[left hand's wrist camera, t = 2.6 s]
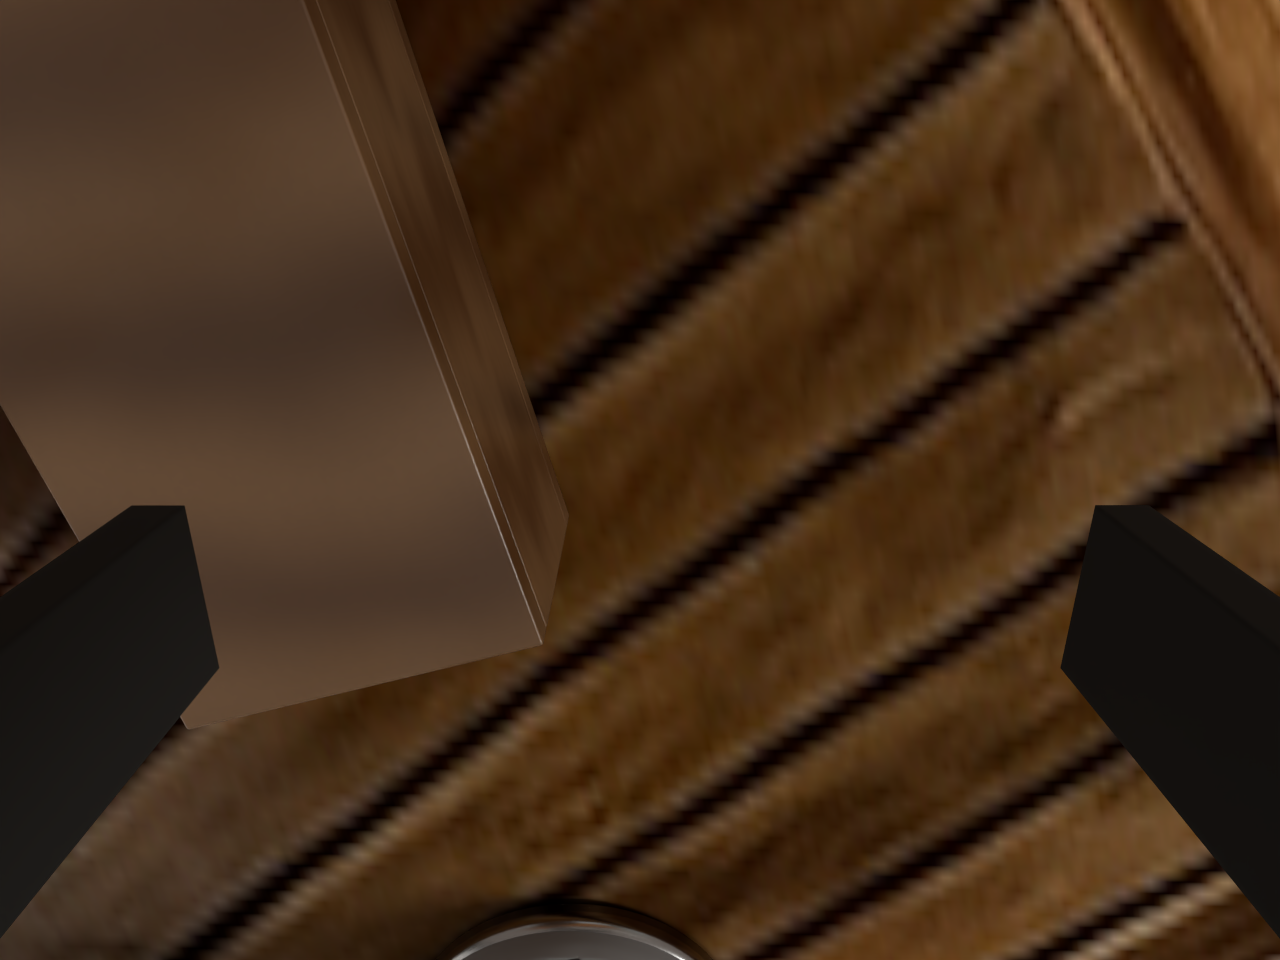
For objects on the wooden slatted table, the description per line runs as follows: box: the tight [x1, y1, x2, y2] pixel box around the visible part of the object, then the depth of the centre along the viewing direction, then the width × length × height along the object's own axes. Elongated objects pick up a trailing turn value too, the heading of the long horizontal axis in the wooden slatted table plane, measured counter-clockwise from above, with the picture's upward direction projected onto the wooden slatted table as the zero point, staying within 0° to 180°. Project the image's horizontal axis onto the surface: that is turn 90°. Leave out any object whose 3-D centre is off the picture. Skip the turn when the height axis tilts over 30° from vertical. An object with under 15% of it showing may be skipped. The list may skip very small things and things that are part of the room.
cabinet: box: [0, 0, 569, 729], centre depth 24 cm, size 21×11×9 cm, turn 15°
